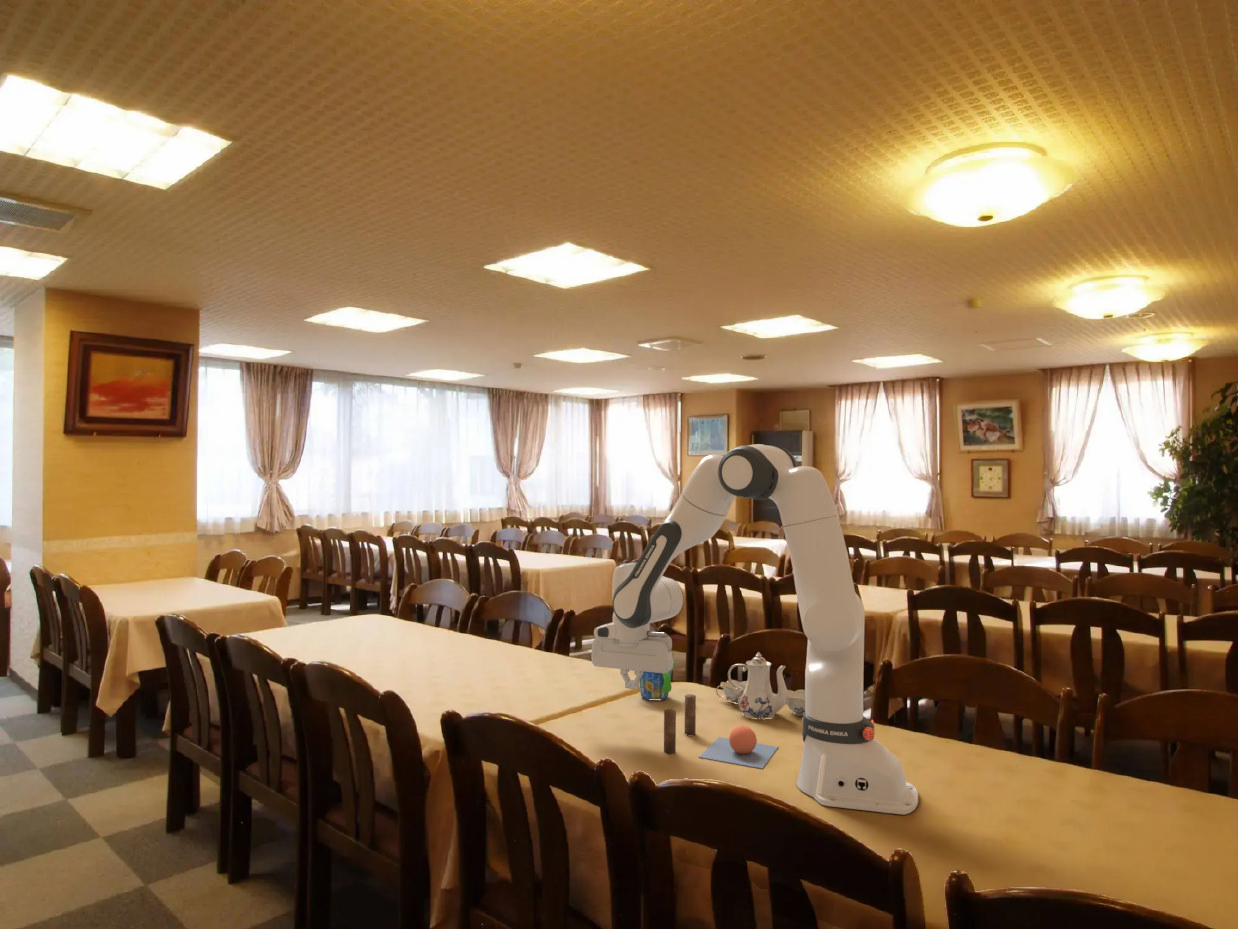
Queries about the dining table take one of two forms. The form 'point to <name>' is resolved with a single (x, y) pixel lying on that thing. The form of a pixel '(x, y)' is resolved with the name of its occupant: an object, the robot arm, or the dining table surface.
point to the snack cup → (655, 685)
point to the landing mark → (725, 753)
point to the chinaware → (762, 691)
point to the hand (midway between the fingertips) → (632, 688)
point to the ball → (742, 739)
